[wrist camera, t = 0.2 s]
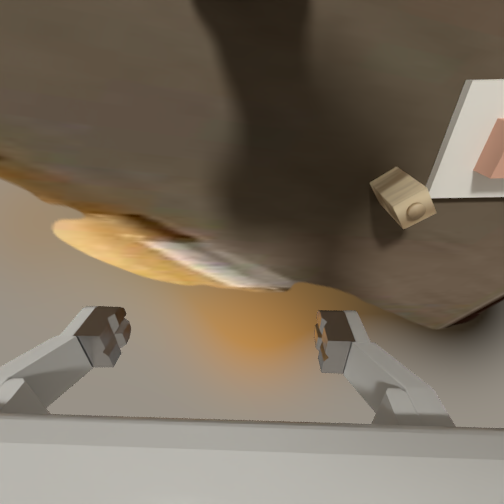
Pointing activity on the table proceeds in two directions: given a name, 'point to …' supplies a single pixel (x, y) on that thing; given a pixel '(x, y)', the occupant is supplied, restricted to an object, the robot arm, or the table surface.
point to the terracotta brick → (493, 153)
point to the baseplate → (468, 143)
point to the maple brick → (403, 197)
